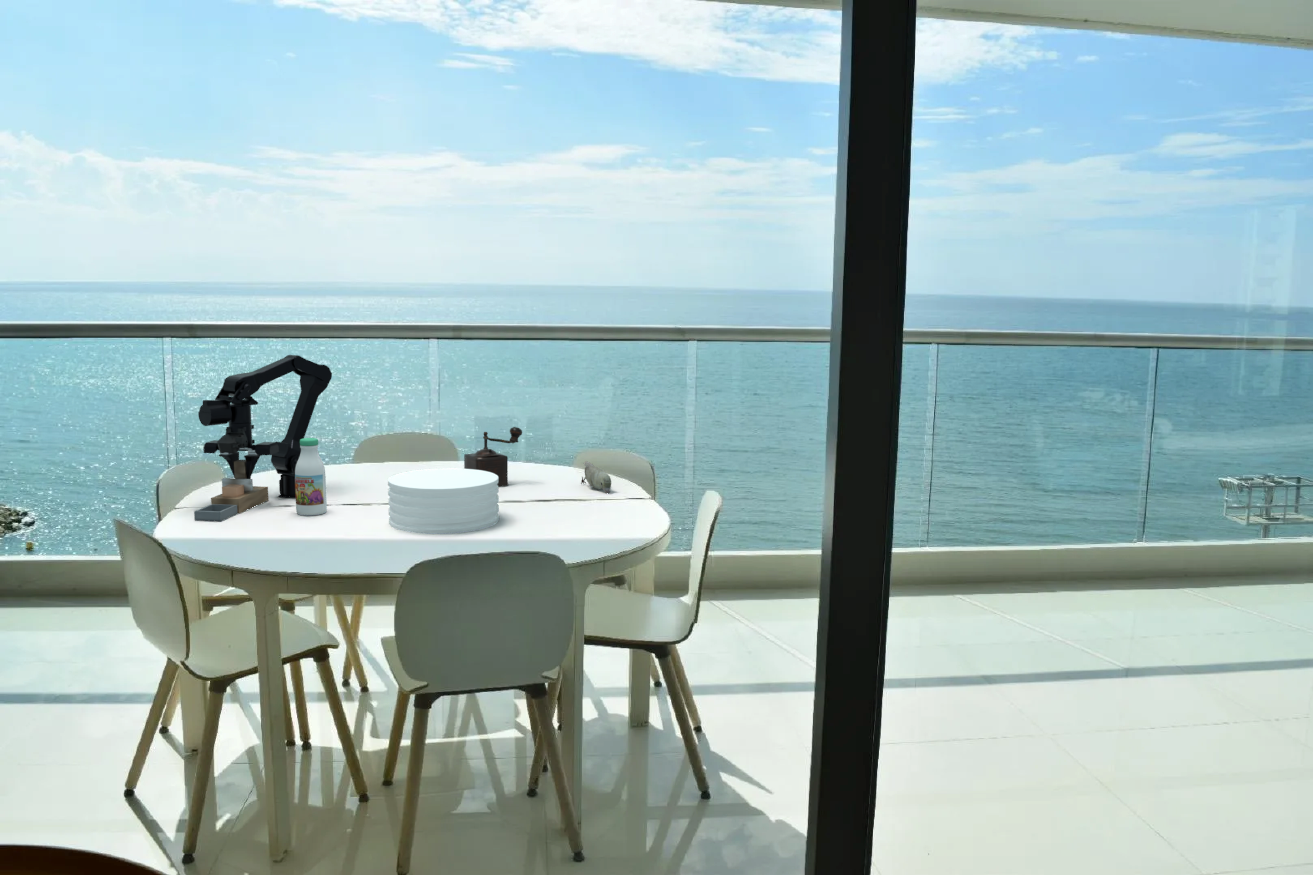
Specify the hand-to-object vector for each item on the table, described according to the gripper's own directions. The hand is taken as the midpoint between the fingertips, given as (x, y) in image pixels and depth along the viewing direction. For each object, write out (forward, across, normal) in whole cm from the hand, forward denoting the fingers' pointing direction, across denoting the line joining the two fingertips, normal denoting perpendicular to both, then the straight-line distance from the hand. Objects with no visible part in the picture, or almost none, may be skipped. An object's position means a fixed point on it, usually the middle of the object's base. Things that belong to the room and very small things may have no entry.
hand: (242, 478), depth 271 cm
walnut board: (+7, 0, -2) cm, 8 cm away
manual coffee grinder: (+8, +60, +40) cm, 72 cm away
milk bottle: (+8, +22, -6) cm, 24 cm away
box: (+7, 0, -15) cm, 16 cm away
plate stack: (+8, +59, -8) cm, 60 cm away
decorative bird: (+8, +92, +39) cm, 100 cm away
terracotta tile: (+3, 0, -6) cm, 6 cm away
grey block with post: (+2, 0, -1) cm, 3 cm away
